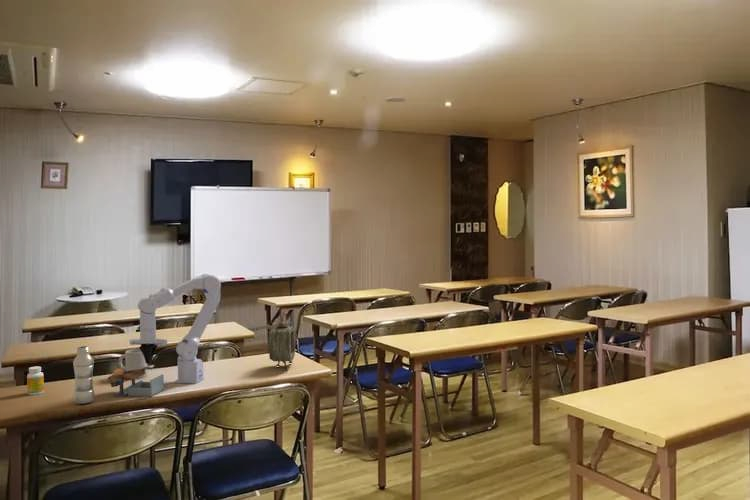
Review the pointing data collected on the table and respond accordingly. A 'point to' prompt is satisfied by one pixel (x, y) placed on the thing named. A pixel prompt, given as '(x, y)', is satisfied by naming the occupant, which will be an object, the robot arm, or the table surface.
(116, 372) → the ball
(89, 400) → the plastic bottle
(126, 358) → the mug
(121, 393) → the stand
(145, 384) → the grey open box
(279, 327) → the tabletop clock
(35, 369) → the supplement bottle
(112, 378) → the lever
